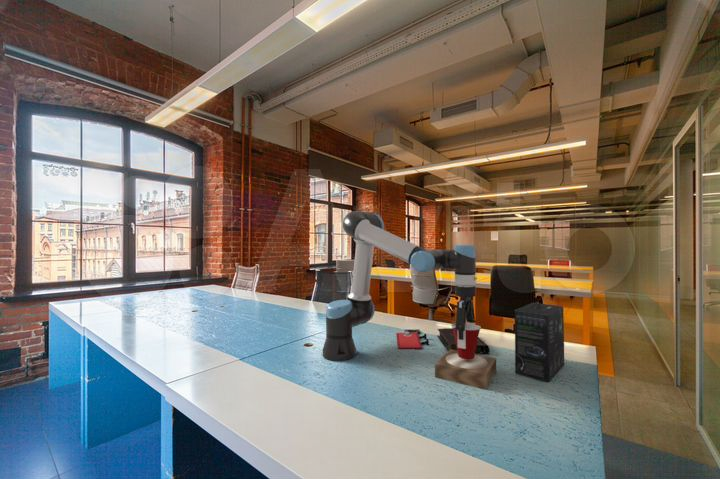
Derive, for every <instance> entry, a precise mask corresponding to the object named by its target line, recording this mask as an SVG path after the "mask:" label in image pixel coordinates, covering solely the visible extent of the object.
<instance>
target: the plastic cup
mask: <svg viewBox="0 0 720 479" xmlns="http://www.w3.org/2000/svg"><path fill="white" fill-rule="evenodd" d="M451 327H452V328H453V331H454V336H455V342H456V347H457V352H458V356H459V357H460V358H462V359H473V358H474V356H475V354H476V353H475V350H476V346H477V340H478V337H479V334H480V331H481V329H482V327H481V325H478V324H477V325H476V324H475V323H474V324H466V323H465V330H466V349H463V348H458V331H457V330H455V327H456V322H455V323H452V324H451ZM459 327H461V326H459Z"/></svg>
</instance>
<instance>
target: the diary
mask: <svg viewBox="0 0 720 479" xmlns="http://www.w3.org/2000/svg"><path fill="white" fill-rule="evenodd" d="M437 331H438V332H439V334H437V338H438V341H440V343H441V344H442V346H443V348H445V349H446V353H447V352H448V351H449V350H450V349H452V350H457V347H456V342H455V336H454V331H453V328H451V327H450V328H446V327H445V328H437ZM490 350H491V349H490V347H489V345H488V344H487V343H486V342H484V341H483V340H482V339H481V338H480V337H479V336H478V340H477V346H476V350H475V354H484V353H486V354H487V355H489V354H490Z"/></svg>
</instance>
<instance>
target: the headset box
mask: <svg viewBox="0 0 720 479" xmlns="http://www.w3.org/2000/svg"><path fill="white" fill-rule="evenodd" d="M564 319H565V318H564V306H562V305H557V304H545V303H539V302H537V301H536V302H531V303H529V304H526V305H523V306H522V307H519V308H517V309H515V310H514V358H515V359H514V361H515V362H514V364H515V365H514V369H515V370H514V372H515V374H519V375H522V376H525V377H528V378H529V377H530V378H533V379H536V380H539V381H542V382H547V383H549V382H550V381H551V380H552V379H553V377H554V376H556V374H557V373H559V371H560V370H561V369H562V368H564V366H565V327H564V326H565V324H564V323H565V322H564Z"/></svg>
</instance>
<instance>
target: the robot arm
mask: <svg viewBox="0 0 720 479" xmlns="http://www.w3.org/2000/svg"><path fill="white" fill-rule="evenodd" d="M342 228H343V231H344V232H345V234H347V235H348V236H349V237H351V238H353V241H354V242H355V253H354V261H353V262H354V263H353V274H352V280H351V281H352V283H351V292H350V293H348V294H347V298H346V299H339V300H334V301H331V302H329V303H328V304H327V305H326V308H325V330H326V331H325V332H326V336H325V337H326V338H325V341H324V344H323V348H322V358H323V359H326V360H329V361H335V362H336V361H337V362H338V361H347V360H351V359H353V358H355V357H356V356H357V347H356V345H355V341H354V339H353V328H354V327H357V326H359V325H363V324H366V323H368V322H369V321H370V320H372V319H373V317H374V315H375V311H376V310H375V308H376V307H375V305H374V302H373V301H372V296H371V295H370V286H371V277H372V269H373V262H374V261H373V259H374V250H375V247H376V248H378V249H380V250H382V251H383V252H386V253H387V254H390V255H392V256H393V257H395V258H396V259H399V260H401V261H403V262H404V263H407V264H409V265H410V266H411V267H412V269H413V270H415V271H416V272H418V273H426V272H427V273H428V272H430V271H436V270H440V269H441V270H454V285H455V286H454V294H455V296H456V297H459V301H457V302H456V319H455V323H456V327H455V330H457V331H458V348H463V349H466V330H465V323H466V324H474V325H475V323H477V320H476V316H475V315H476V314H475V307H474V306H475V305H474V298H475V297H476V296H477V287H476V286H475V285H476V284H477V280H478V277H477V274H476V265H477V264H476V258H477V256H476V247H475V246H474V245H473V244H455V245H454V249H426V248H424V247H421V246H419V245H417V244H415V243H413V242H411V241H409V240H406V239H404V238H402V237H400V236H397V235H395V234H393V233H391V232H389V231H387V230H386V229H385V224H384V221H383V218H382V217H381V216H380V215H379V214H377V213H373V212H371V211H369V212H368V211H359V210H353V211H350V212H349V213H347V214H346V215H345V217H344V218H343V220H342ZM459 326H461V327H459Z"/></svg>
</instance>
